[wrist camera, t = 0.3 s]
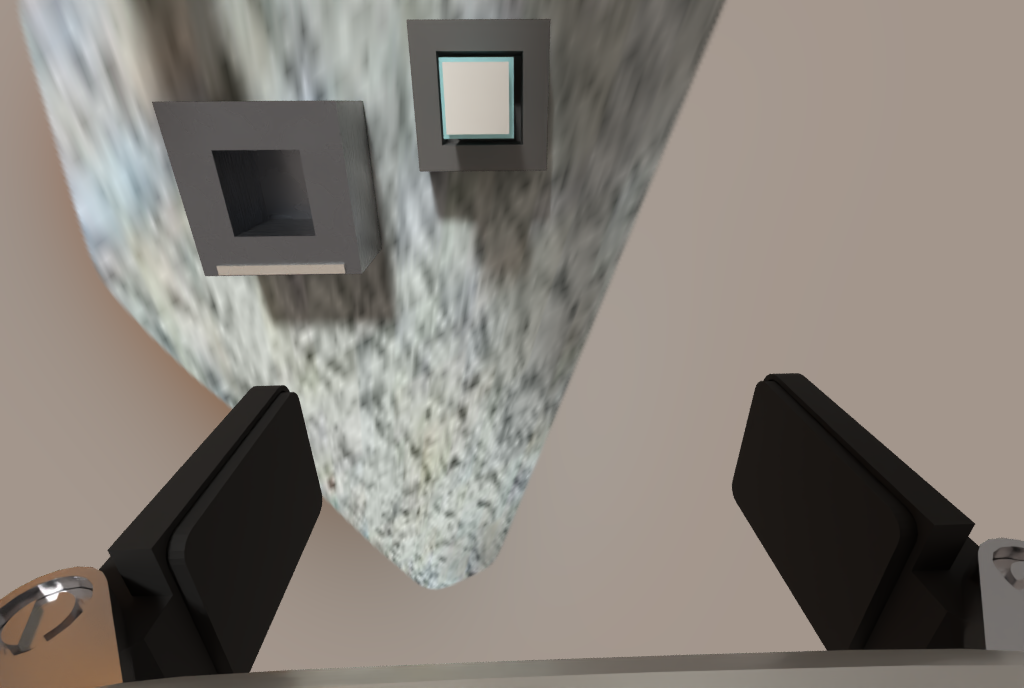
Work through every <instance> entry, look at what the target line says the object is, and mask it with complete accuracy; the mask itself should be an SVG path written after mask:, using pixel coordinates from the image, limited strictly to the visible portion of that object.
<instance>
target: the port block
mask: <svg viewBox="0 0 1024 688" xmlns="http://www.w3.org/2000/svg"><path fill="white" fill-rule="evenodd" d="M152 103H153V107H154V110H155V113H156V116H157V120H158V123H159V126H160V129H161V133H162V136H163V139H164V143H165V146H166V149H167V152H168V156H169V159H170V162H171V165H172V169H173V172H174V175H175V179H176V182H177V185H178V188H179V192H180V195H181V198H182V201H183V205H184V208H185V211H186V215H187V218H188V221H189V224H190V228H191V231H192V234H193V237H194V241H195V244H196V247H197V251H198V254H199V257H200V260H201V264H202V267H203V270H204V273H205V276H242V275H312V274H362V273H363V272H364V270H365V269H366V268H367V267H368V265H369V264H370V263H371V262H372V260H373V259H374V258H375V257H376V255H377V254H378V253H379V251H380V250H381V249H382V247H381V239H380V231H379V224H378V216H377V208H376V201H375V193H374V185H373V177H372V170H371V162H370V154H369V147H368V139H367V131H366V124H365V116H364V108H363V101H202V102H152Z"/></svg>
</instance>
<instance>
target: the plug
mask: <svg viewBox="0 0 1024 688" xmlns="http://www.w3.org/2000/svg"><path fill="white" fill-rule="evenodd" d="M439 73H440V89H441V104H442V120H443V135H444V139H491V138H514V57H439Z"/></svg>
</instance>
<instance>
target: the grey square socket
mask: <svg viewBox="0 0 1024 688" xmlns="http://www.w3.org/2000/svg"><path fill="white" fill-rule="evenodd" d="M407 30H408V41H409V53H410V64H411V76H412V87H413V99H414V110H415V122H416V133H417V145H418V156H419V168H420V171H521V170H546V169H547V129H548V89H549V49H550V19H459V20H407ZM439 57H514V138H491V139H444V135H443V120H442V104H441V89H440V73H439Z"/></svg>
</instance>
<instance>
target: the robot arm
mask: <svg viewBox="0 0 1024 688" xmlns="http://www.w3.org/2000/svg"><path fill="white" fill-rule="evenodd" d="M732 491H733V496H734V499H735V500H736V503H737V504H738V506H739V507H740V509H741V511H742V512H743V514H744V516H745V517H746V519H747V520H748V522H749V524H750V525H751V527H752V528H753V530H754V532H755V533H756V535H757V537H758V538H759V540H760V541H761V543H762V545H763V547H764V548H765V550H766V552H767V553H768V555H769V556H770V558H771V559H772V561H773V563H774V564H775V566H776V568H777V569H778V571H779V573H780V574H781V576H782V578H783V579H784V581H785V582H786V584H787V586H788V587H789V589H790V591H791V592H792V594H793V596H794V597H795V599H796V600H797V602H798V604H799V605H800V607H801V609H802V610H803V612H804V613H805V615H806V617H807V618H808V620H809V622H810V623H811V625H812V626H813V628H814V630H815V632H816V633H817V635H818V636H819V638H820V640H821V641H822V643H823V645H824V646H825V648H826V649H827V651H804V652H770V653H737V654H705V655H704V654H703V655H675V656H674V655H671V656H642V657H616V658H615V657H614V658H586V659H585V658H584V659H561V660H560V659H558V660H531V661H530V660H529V661H502V662H475V663H451V664H426V665H403V666H378V667H353V668H330V669H305V670H287V671H286V670H285V671H268V672H253V673H249V672H250V670H251V668H252V666H253V663H254V661H255V659H256V657H257V654H258V652H259V650H260V648H261V645H262V643H263V641H264V638H265V636H266V634H267V631H268V630H269V627H270V625H271V623H272V620H273V618H274V616H275V614H276V611H277V609H278V607H279V604H280V602H281V600H282V598H283V595H284V593H285V591H286V589H287V586H288V584H289V582H290V580H291V577H292V575H293V572H294V571H295V568H296V566H297V564H298V561H299V559H300V557H301V554H302V552H303V550H304V548H305V546H306V543H307V541H308V539H309V537H310V534H311V532H312V529H313V527H314V525H315V523H316V520H317V518H318V516H319V514H320V511H321V507H322V493H321V489H320V484H319V480H318V476H317V472H316V468H315V464H314V459H313V455H312V451H311V447H310V443H309V439H308V434H307V430H306V426H305V422H304V418H303V414H302V409H301V405H300V401H299V398H298V395H297V394H296V393H294V392H290V391H289V389H288V388H287V387H286V386H284V385H281V386H254V387H253V388H251V389H250V390H249V391H248V392H247V394H246V395H245V396H244V397H243V398H242V399H241V400H240V401H239V403H238V404H237V405H236V406H235V407H234V408H233V409H232V410H231V412H230V413H229V414H228V415H227V416H226V417H225V418H224V420H223V421H222V422H221V423H220V424H219V425H218V426H217V427H216V428H215V430H214V431H213V432H212V433H211V434H210V435H209V436H208V438H207V439H206V440H205V441H204V442H203V443H202V444H201V445H200V447H199V448H198V449H197V450H196V451H195V452H194V453H193V454H192V456H191V457H190V458H189V459H188V460H187V461H186V462H185V464H184V465H183V466H182V467H181V468H180V469H179V470H178V471H177V472H176V474H175V475H174V476H173V477H172V478H171V479H170V480H169V481H168V483H167V484H166V485H165V486H164V487H163V488H162V489H161V490H160V492H159V493H158V494H157V495H156V496H155V497H154V498H153V500H152V501H151V502H150V503H149V504H148V505H147V506H146V507H145V508H144V510H143V511H142V512H141V513H140V514H139V515H138V516H137V517H136V519H135V520H134V521H133V522H132V523H131V524H130V525H129V527H128V528H127V529H126V530H125V531H124V532H123V533H122V534H121V536H120V537H119V538H118V539H117V540H116V541H115V542H114V543H113V545H112V546H111V547H110V548H109V549H108V552H109V554H110V558H109V559H108V560H107V561H106V562H105V563H104V565H103V566H102V567H101V568H100V569H99V570H97V569H95V568H93V567H73V568H67V569H62V570H57V571H55V572H52V573H49V574H46V575H44V576H41V577H38V578H36V579H34V580H32V581H30V582H28V583H26V584H24V585H22V586H21V587H19V588H17V589H15V590H14V591H12V592H10V593H9V594H8V595H6V596H5V597H3V598H2V599H0V688H1024V541H1021V540H1014V539H1007V538H996V539H988V540H987V541H985V542H984V543H982V544H980V546H978V545H977V544H976V543H975V542H974V541H972V540H971V539H970V538H969V537H968V536H969V534H970V532H971V530H972V528H973V527H974V525H975V523H974V522H972V521H971V520H970V519H969V518H968V517H967V516H966V515H964V514H963V513H962V512H961V511H960V510H959V509H957V508H956V507H955V506H954V505H953V504H952V503H950V502H949V501H948V500H947V499H946V498H944V496H942V495H941V494H940V493H939V492H938V491H937V490H935V489H934V488H933V487H932V486H931V485H930V484H928V483H927V482H926V481H925V480H923V478H921V477H920V476H919V475H918V474H917V473H916V472H915V471H913V470H912V469H911V468H909V466H908V465H906V464H905V463H904V462H903V461H902V460H901V459H899V458H898V457H897V456H896V455H895V454H894V453H892V452H891V451H890V450H889V449H888V448H887V447H886V446H884V445H883V444H882V443H881V442H880V441H878V440H877V439H876V438H875V437H874V436H873V435H871V434H870V433H869V432H868V431H867V430H866V429H865V428H864V427H862V426H861V425H860V424H859V423H858V422H857V421H855V420H854V419H853V418H852V417H851V416H850V415H848V414H847V413H846V412H845V411H844V410H843V409H841V408H840V407H839V406H838V405H837V404H836V403H835V402H833V401H832V400H831V399H830V398H829V397H827V396H826V395H825V394H824V393H823V392H822V391H821V390H819V389H818V388H817V387H816V386H815V385H814V384H813V383H811V382H810V381H809V380H808V379H807V378H805V377H804V376H803V375H801V374H798V373H795V374H794V373H790V374H769V375H767V376H766V378H765V379H764V381H760V382H759V383H758V384H757V385H756V388H755V392H754V395H753V400H752V404H751V408H750V412H749V416H748V420H747V424H746V428H745V432H744V437H743V441H742V445H741V449H740V453H739V457H738V461H737V465H736V469H735V473H734V477H733V482H732Z"/></svg>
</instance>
